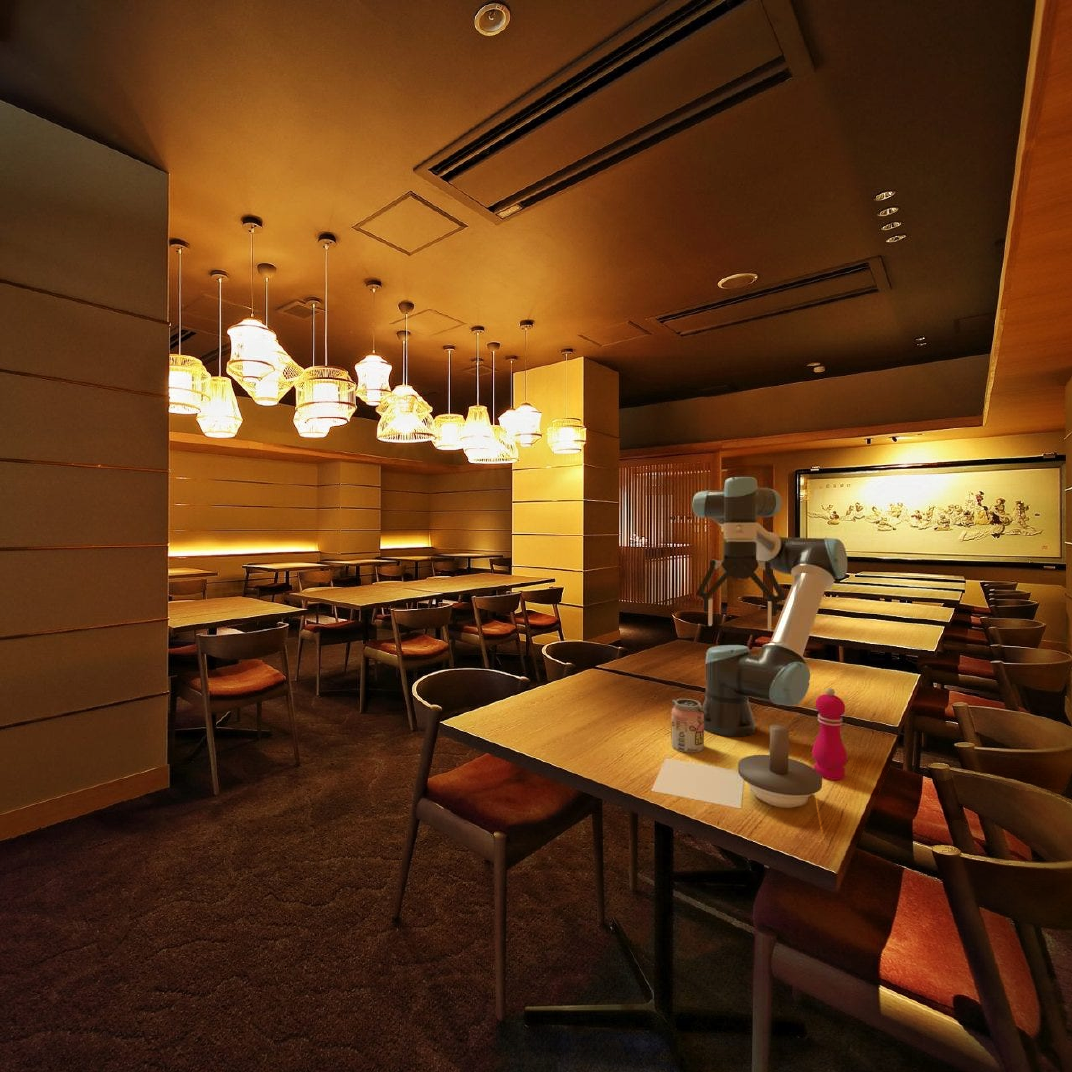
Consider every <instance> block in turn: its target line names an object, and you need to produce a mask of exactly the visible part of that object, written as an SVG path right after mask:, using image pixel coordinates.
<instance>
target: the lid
mask: <svg viewBox="0 0 1072 1072" xmlns="http://www.w3.org/2000/svg"><path fill="white" fill-rule="evenodd" d="M789 730H790V729H789V727H787V726H784V725H780V724H772V725H770V726H769V754H751V755H747V756H745V757H743V758H741V759H740V760H739V761H738V762H737V770H738V773H739V775H740V776H741V777H742V778H743V779H744V781H745V782H746V783H747V782H748V783H750V784H751V785H753V786H756V787H758V788H760V789H763V790H766V791H770V792H774V793H778V794H784V795H809V794H812V795H813V794H816V793H818V792H819V791H821V790H822V787H823V778H822V777H821V775H820V773H819V772H818V771H816V770H815V769H814V767H812V766H810V765H809V764H807V763H804V762H803V761H799V760H796V759H793V758H790V757H789V749H790V748H789V746H790V745H789V743H790V741H789V740H790V739H789V738H790V731H789ZM748 783H747V784H748Z"/></svg>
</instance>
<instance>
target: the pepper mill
mask: <svg viewBox="0 0 1072 1072" xmlns="http://www.w3.org/2000/svg"><path fill="white" fill-rule="evenodd" d="M835 693H836V692H835V689H833V688H831V687H828V688H827V689H826V690H825V693H824V694H822V695H819V696H818V697H817V698H816V700H815V709H816V711H817V712H818V714H817V721H818V723H819V732H818V736H817V738H816V739H815V740H814V743H813V745H812V748H811V749H812V750H811V751H812V752H811V756H812V758H813V760H814V761H815V763H814V765H813V768H814V769H815V770H816V771H818V772H819V773H820V775H821V777H822V779H826V780H829V781H830V780H831V781H841V780H844V779H845V778H846V777H845V776H846V770H845V767H844V766H846V764H847V763H848V754H847V750H846V748H845V745H844V743H843V740H842V736H841V726H842V725H843V717H842V716H843V715H844V714H845V711H846V706H845V703H844V701H843V699H842V698H840V697H839V696H837V695H835Z"/></svg>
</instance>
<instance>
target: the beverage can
mask: <svg viewBox="0 0 1072 1072" xmlns="http://www.w3.org/2000/svg"><path fill="white" fill-rule="evenodd" d="M671 704H672V705H673V707H672V709H671V720H670V721H671V722H670V723H671V726H670V727H671V730H670V731H671V732H670V733H671V736H670V737H671V740H670V742H671V743H670V745H671V747H672V748H673V749H674V750H676V751H678V752H682V753H687V754H697V753H700V752H702V751H703V750H704V748H705V729H704V715H706V713H707V711H706V710H705V709H704V708H703V705H702V703H701V702H700V701H699V700H695V699H691V698H678V699H672V701H671Z"/></svg>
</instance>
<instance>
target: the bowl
mask: <svg viewBox="0 0 1072 1072" xmlns="http://www.w3.org/2000/svg"><path fill="white" fill-rule="evenodd" d="M746 783H747V785H748V786H749V789H750V792H751V793H752V795H753V796H754V797H756V798H758V799H759V800H761V801H763V802H764V803H767V804H768V805H770V806H774V807H778V808H784V809H785V808H787V809H788V808H789V809H790V808H795V807H801V806H804V805H806V804H807V803H808V802H809V797H810V796H812V795H813V794H809V795H784V794H778V793H774V792H770V791H766V790H763V789H760V788H758V787H756V786H753V785H751V784H750V783H748V782H746Z"/></svg>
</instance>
